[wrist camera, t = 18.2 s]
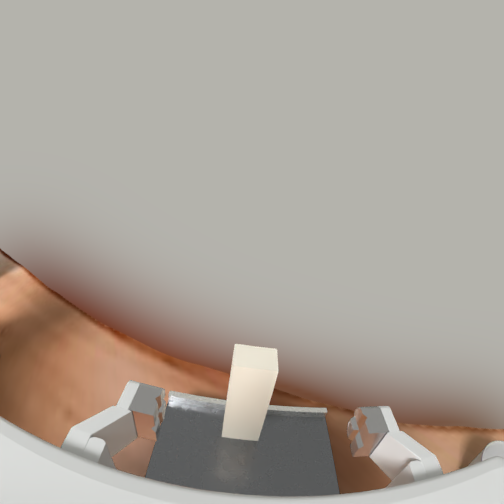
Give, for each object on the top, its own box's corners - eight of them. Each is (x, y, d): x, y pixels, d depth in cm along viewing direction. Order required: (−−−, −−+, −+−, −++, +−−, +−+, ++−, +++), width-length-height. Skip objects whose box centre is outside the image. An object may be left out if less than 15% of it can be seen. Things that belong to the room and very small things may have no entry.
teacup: (483, 461, 31) (508, 433, 28) (504, 499, 21) (533, 473, 18) (431, 482, 30) (459, 455, 27) (452, 530, 20) (486, 506, 17)
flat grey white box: (146, 498, 26) (140, 484, 25) (171, 409, 43) (170, 389, 41) (330, 514, 27) (344, 500, 25) (316, 425, 43) (326, 406, 42)
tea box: (257, 440, 35) (278, 371, 31) (221, 437, 35) (232, 365, 31) (258, 418, 40) (276, 347, 35) (224, 414, 39) (235, 342, 35)
